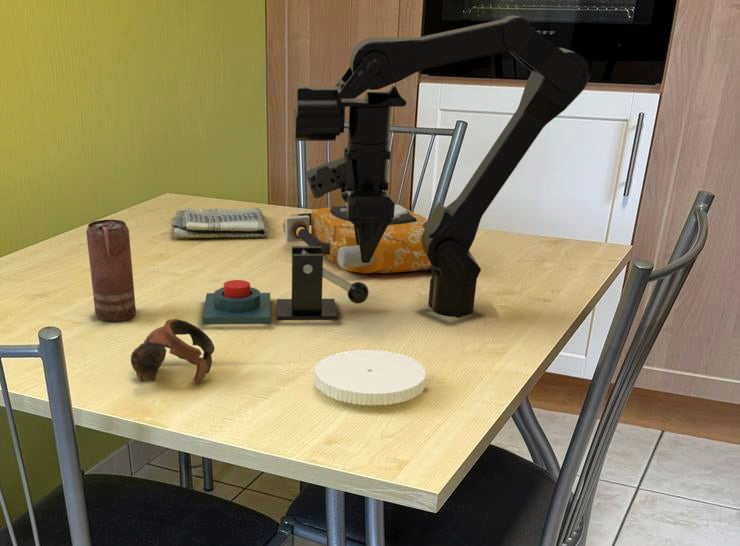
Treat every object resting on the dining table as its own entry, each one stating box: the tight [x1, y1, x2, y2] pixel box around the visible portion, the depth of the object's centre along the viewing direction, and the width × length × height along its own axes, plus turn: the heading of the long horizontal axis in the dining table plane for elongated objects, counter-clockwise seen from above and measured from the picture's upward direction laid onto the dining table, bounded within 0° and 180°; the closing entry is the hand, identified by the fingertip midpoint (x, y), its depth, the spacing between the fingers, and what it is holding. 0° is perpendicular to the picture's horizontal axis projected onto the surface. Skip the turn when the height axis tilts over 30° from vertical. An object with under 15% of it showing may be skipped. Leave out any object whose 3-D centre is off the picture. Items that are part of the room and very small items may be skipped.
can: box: [85, 219, 137, 323], centre depth 137 cm, size 6×6×14 cm
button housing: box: [201, 286, 271, 325], centre depth 140 cm, size 10×11×4 cm
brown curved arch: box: [130, 318, 215, 384], centre depth 119 cm, size 12×10×8 cm
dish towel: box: [170, 207, 269, 239], centre depth 183 cm, size 19×18×3 cm
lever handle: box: [301, 250, 370, 304], centre depth 138 cm, size 12×3×3 cm
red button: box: [223, 279, 251, 298], centre depth 139 cm, size 4×4×2 cm
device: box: [281, 203, 438, 274], centre depth 163 cm, size 23×8×30 cm
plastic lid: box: [313, 349, 427, 406], centre depth 117 cm, size 14×14×2 cm
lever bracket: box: [276, 245, 339, 321], centre depth 138 cm, size 9×8×10 cm
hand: (362, 253), depth 136 cm, fingers open, 9 cm apart
